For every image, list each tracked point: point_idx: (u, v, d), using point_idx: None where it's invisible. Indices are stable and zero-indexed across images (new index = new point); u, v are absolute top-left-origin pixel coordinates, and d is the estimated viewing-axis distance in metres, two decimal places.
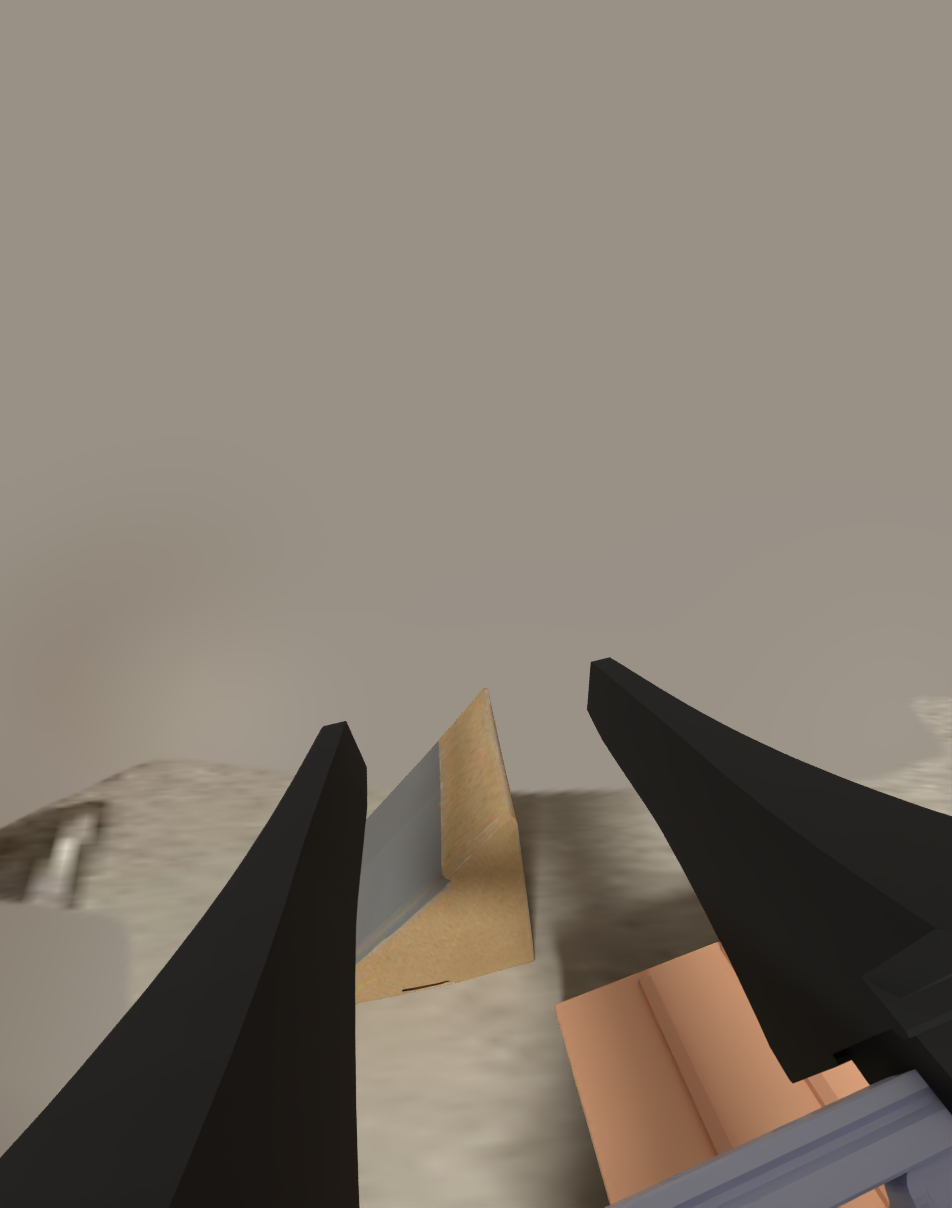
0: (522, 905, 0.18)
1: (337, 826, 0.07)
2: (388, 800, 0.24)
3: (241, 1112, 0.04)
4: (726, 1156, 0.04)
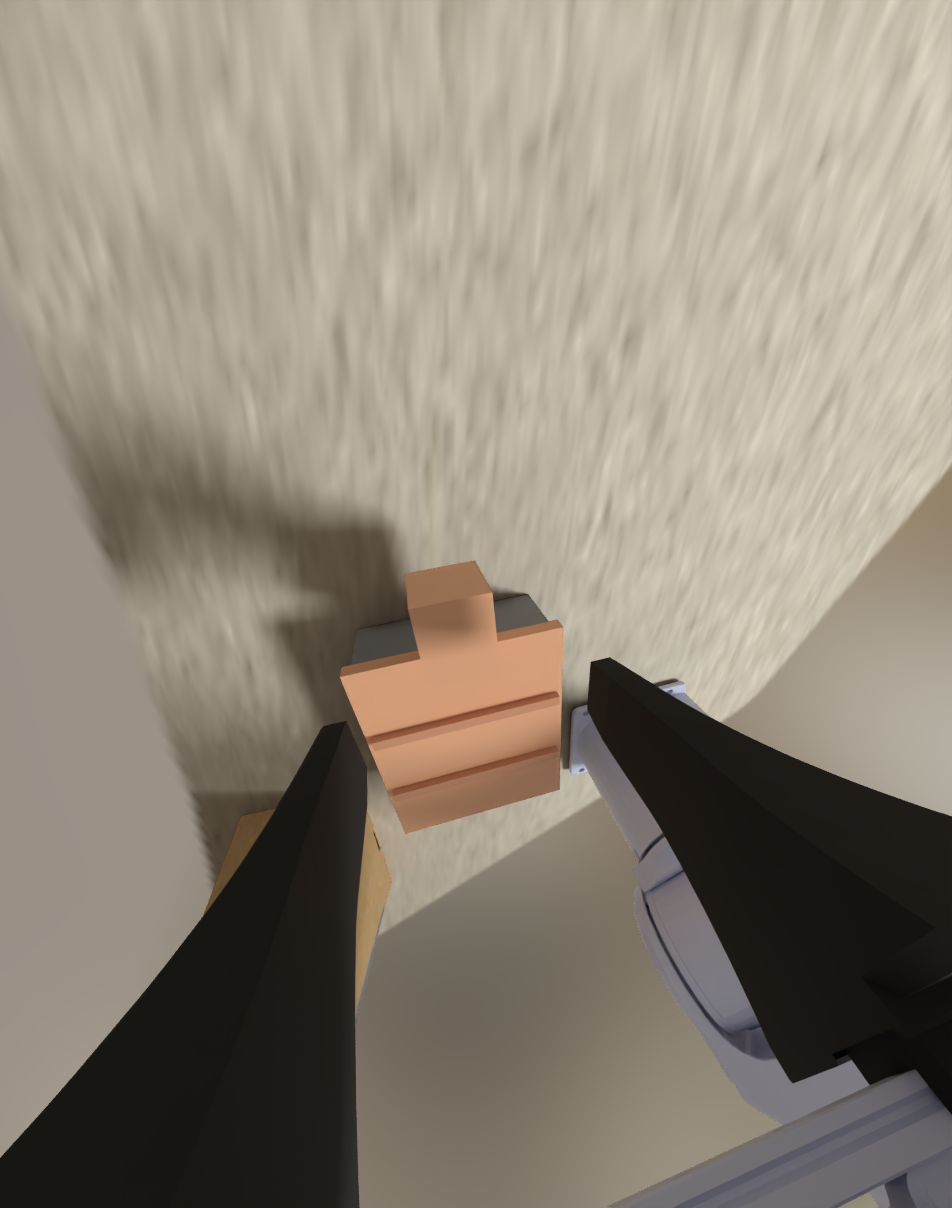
0: None
1: (338, 826, 0.07)
2: None
3: (241, 1112, 0.04)
4: (726, 1156, 0.04)
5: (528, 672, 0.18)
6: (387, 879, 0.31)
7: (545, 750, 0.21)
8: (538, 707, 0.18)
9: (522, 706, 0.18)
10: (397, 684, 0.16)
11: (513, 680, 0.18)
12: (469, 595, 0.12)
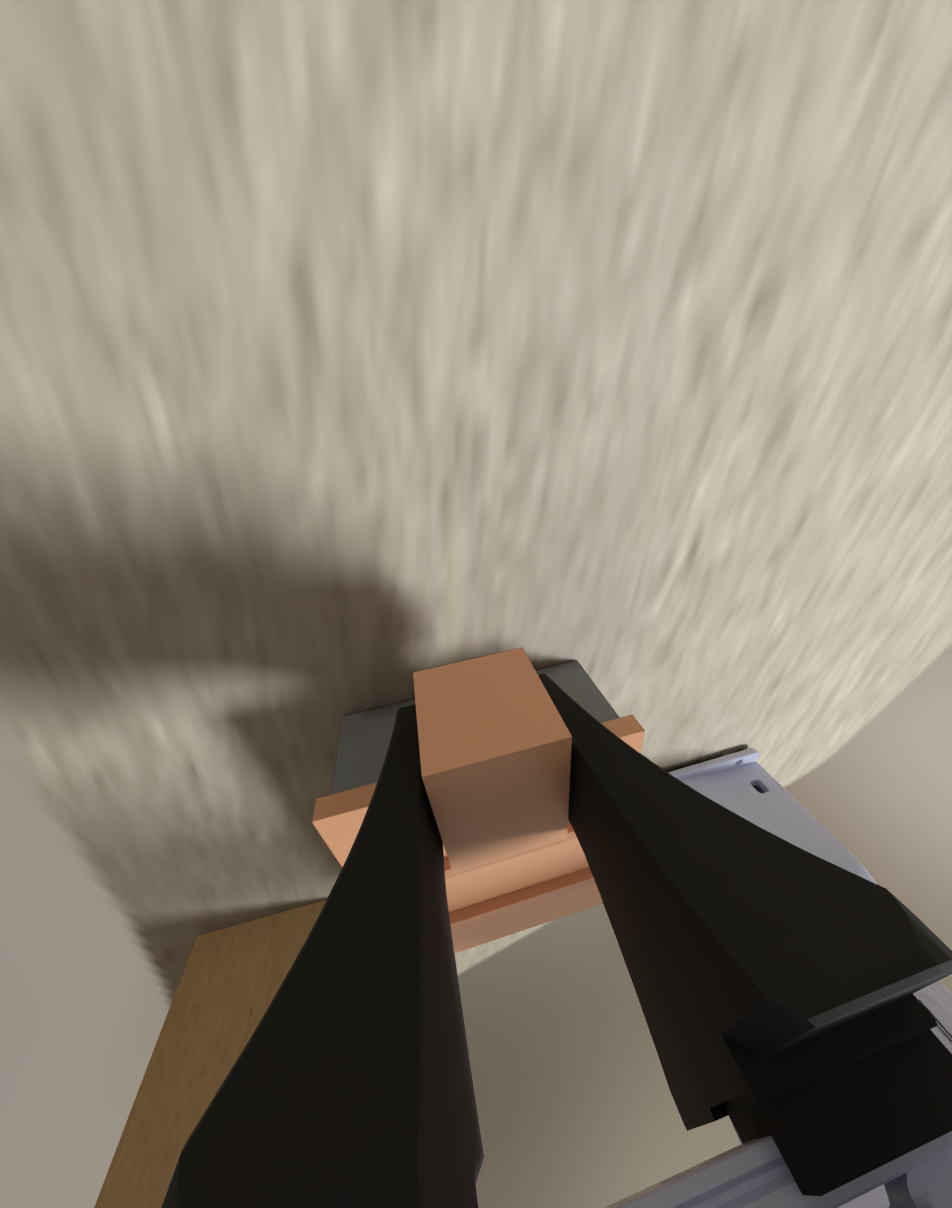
0: None
1: None
2: None
3: (431, 1042, 0.04)
4: (726, 1156, 0.04)
5: None
6: None
7: None
8: None
9: None
10: None
11: None
12: (530, 743, 0.07)
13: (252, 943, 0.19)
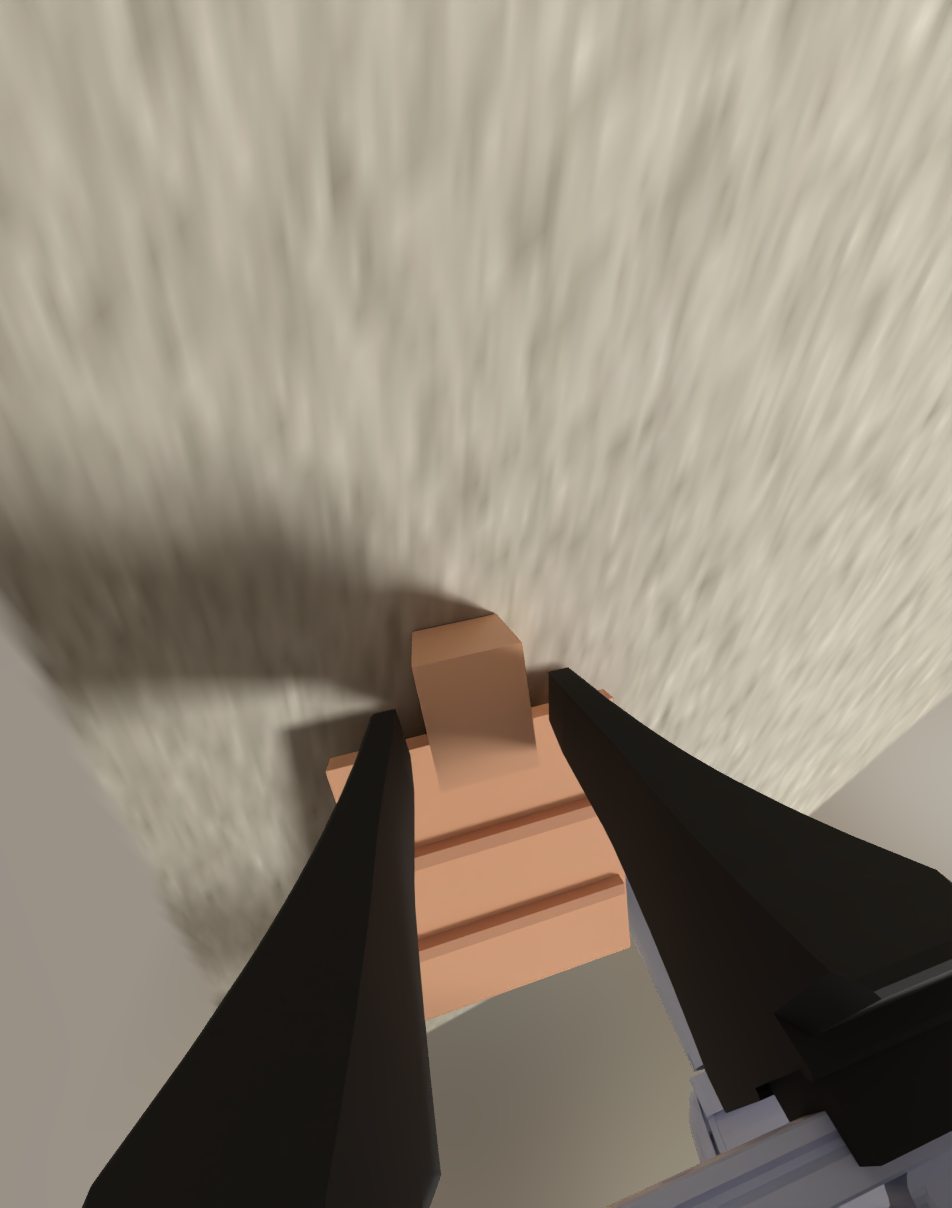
0: None
1: (398, 809, 0.08)
2: None
3: (366, 1066, 0.04)
4: (726, 1156, 0.04)
5: None
6: None
7: (605, 882, 0.15)
8: (590, 814, 0.14)
9: (568, 813, 0.13)
10: None
11: (553, 774, 0.13)
12: (491, 648, 0.09)
13: None
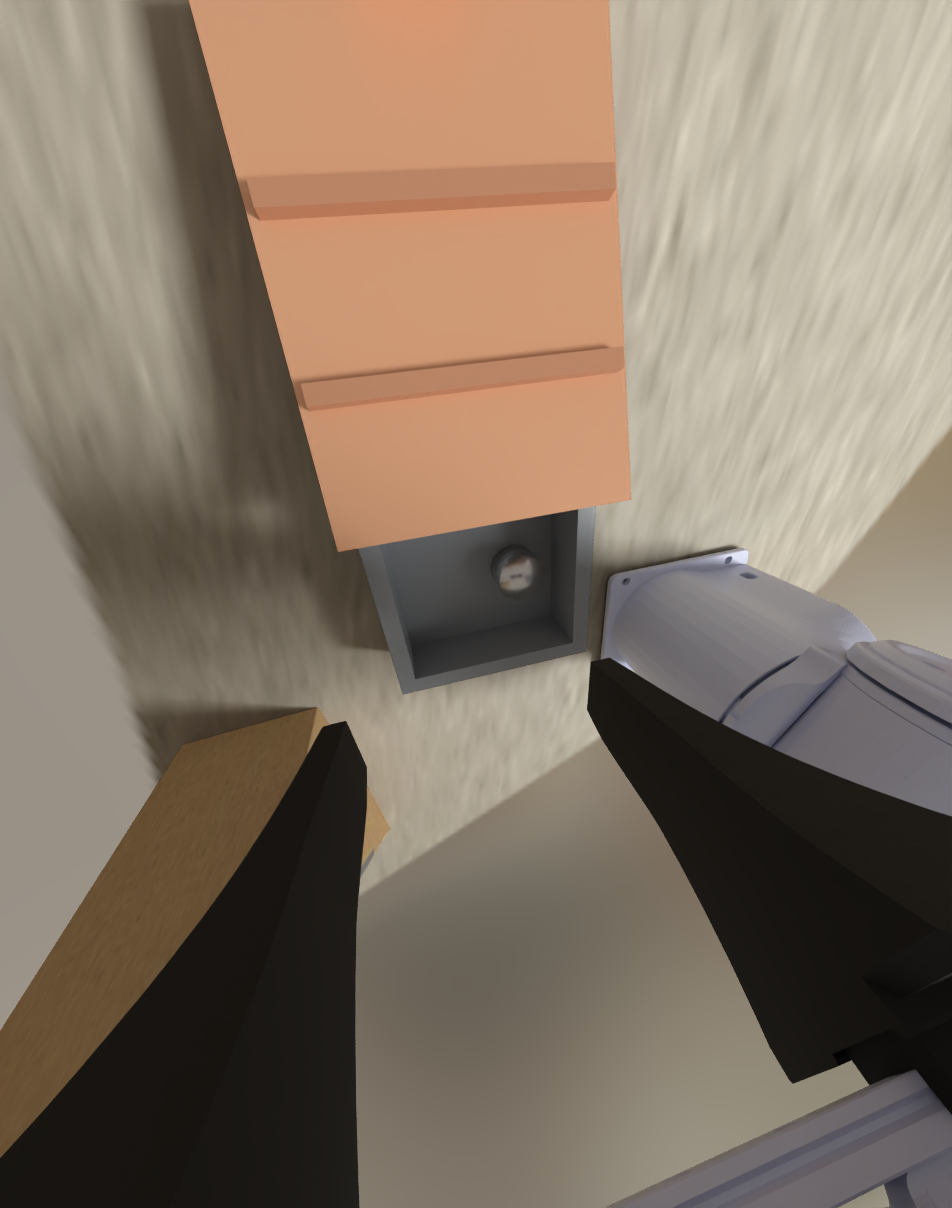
0: None
1: (338, 826, 0.07)
2: None
3: (241, 1112, 0.04)
4: (726, 1156, 0.04)
5: (551, 93, 0.10)
6: (380, 823, 0.27)
7: (598, 352, 0.11)
8: (576, 182, 0.10)
9: (546, 166, 0.10)
10: (298, 31, 0.08)
11: (524, 108, 0.10)
12: None
13: (231, 743, 0.20)
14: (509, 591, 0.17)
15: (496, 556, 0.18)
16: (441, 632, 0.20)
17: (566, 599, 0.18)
